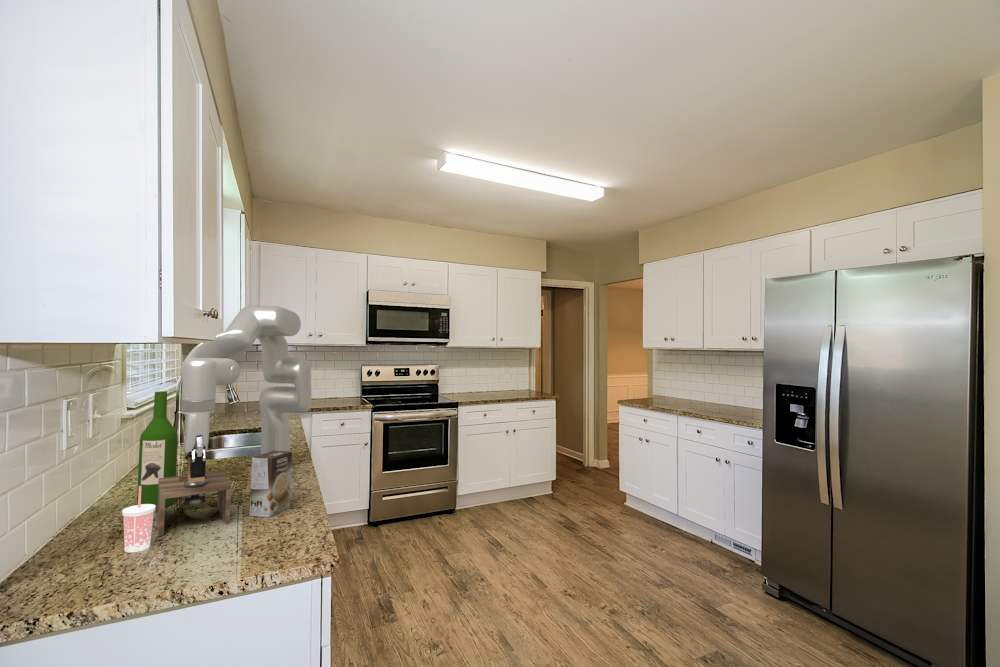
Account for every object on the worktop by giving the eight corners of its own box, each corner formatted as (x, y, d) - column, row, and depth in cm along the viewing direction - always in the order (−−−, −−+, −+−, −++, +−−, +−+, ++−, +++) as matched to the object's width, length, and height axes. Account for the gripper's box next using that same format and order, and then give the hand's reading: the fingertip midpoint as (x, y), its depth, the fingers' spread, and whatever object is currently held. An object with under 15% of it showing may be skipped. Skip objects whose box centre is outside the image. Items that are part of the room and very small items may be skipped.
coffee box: (269, 518, 127) (271, 458, 128) (248, 516, 129) (250, 456, 129) (291, 507, 136) (292, 451, 137) (271, 505, 138) (273, 449, 138)
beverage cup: (157, 541, 111) (160, 481, 112) (148, 552, 105) (151, 488, 106) (126, 544, 109) (129, 483, 110) (115, 555, 103) (118, 491, 104)
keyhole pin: (182, 501, 123) (184, 457, 123) (205, 498, 126) (207, 454, 126) (184, 507, 119) (185, 460, 119) (207, 503, 122) (209, 458, 122)
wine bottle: (132, 512, 130) (137, 393, 131) (141, 502, 138) (146, 390, 139) (171, 508, 134) (176, 392, 135) (178, 498, 142) (182, 390, 143)
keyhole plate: (157, 515, 128) (158, 478, 128) (221, 505, 137) (222, 470, 137) (158, 536, 114) (160, 494, 114) (229, 523, 123) (230, 484, 123)
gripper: (179, 404, 128) (176, 468, 127) (183, 411, 114) (180, 483, 113) (211, 402, 132) (209, 464, 132) (219, 409, 118) (216, 478, 118)
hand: (195, 473), depth 123 cm, fingers open, 9 cm apart
